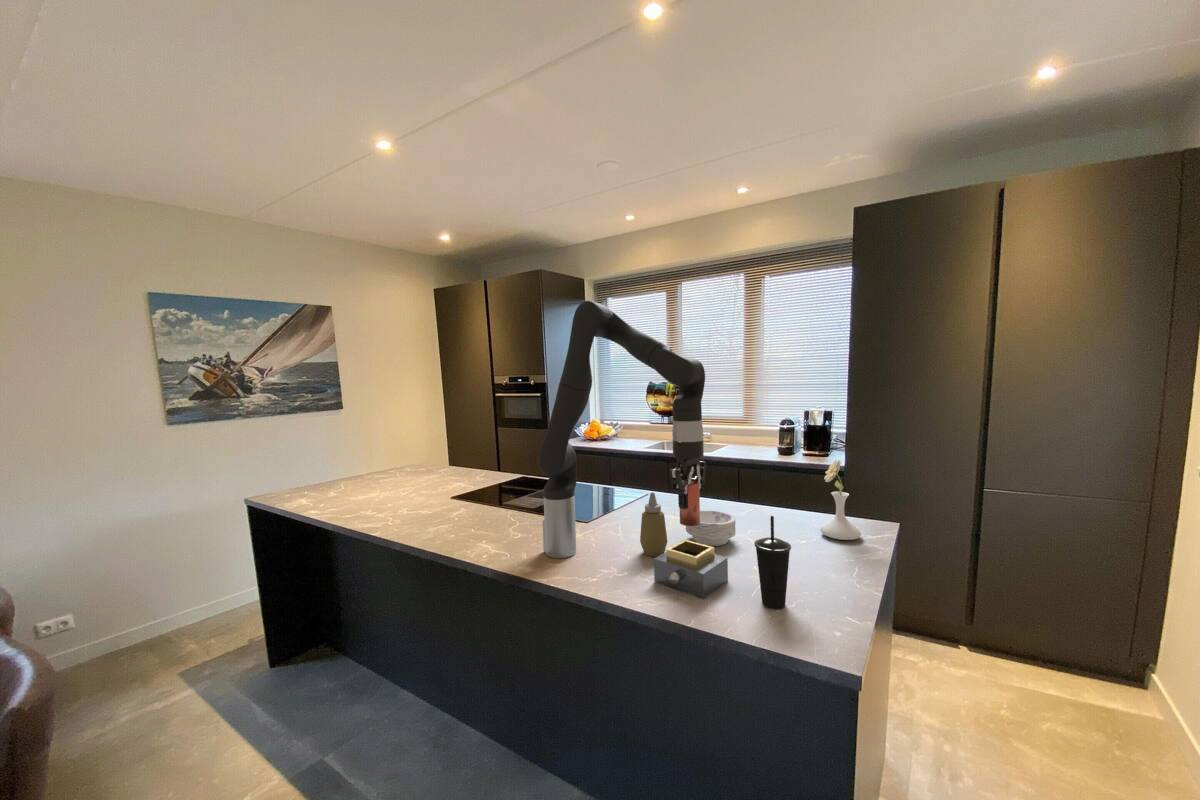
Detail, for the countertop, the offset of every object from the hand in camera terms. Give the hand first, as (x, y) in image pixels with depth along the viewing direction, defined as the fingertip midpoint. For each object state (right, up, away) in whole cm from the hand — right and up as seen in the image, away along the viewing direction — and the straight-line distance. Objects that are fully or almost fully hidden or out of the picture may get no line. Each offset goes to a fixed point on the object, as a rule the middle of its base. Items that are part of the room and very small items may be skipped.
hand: (689, 505), depth 111 cm
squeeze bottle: (-6, -19, +20) cm, 28 cm away
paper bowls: (+12, -18, +28) cm, 36 cm away
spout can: (0, -4, 0) cm, 4 cm away
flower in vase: (+53, -17, +27) cm, 62 cm away
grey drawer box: (+1, -19, +1) cm, 19 cm away
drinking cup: (+17, -20, -11) cm, 28 cm away
